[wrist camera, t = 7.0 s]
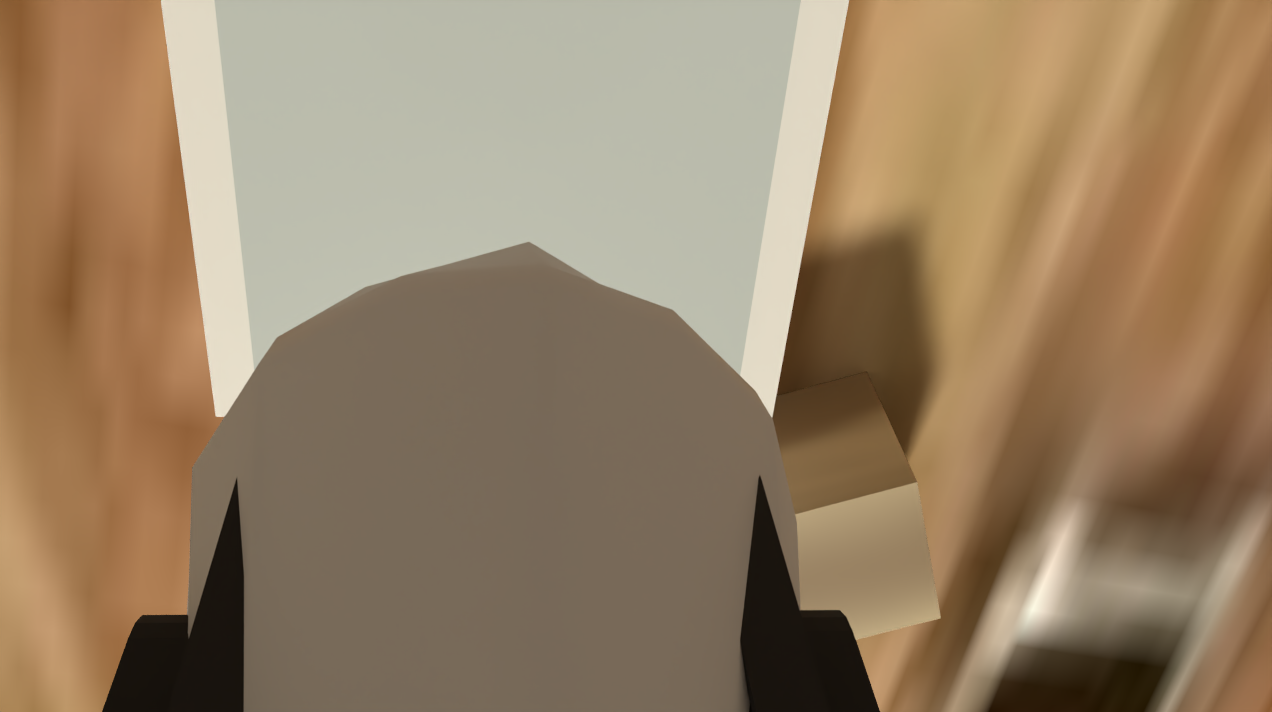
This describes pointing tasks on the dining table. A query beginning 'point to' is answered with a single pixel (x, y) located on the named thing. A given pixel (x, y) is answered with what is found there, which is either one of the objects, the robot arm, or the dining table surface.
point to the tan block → (854, 508)
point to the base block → (501, 154)
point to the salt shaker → (492, 501)
